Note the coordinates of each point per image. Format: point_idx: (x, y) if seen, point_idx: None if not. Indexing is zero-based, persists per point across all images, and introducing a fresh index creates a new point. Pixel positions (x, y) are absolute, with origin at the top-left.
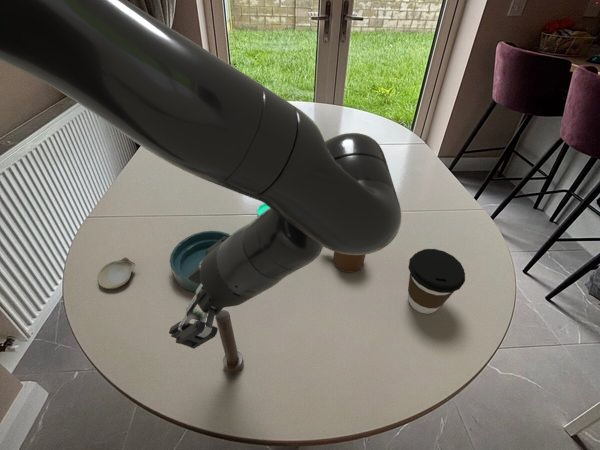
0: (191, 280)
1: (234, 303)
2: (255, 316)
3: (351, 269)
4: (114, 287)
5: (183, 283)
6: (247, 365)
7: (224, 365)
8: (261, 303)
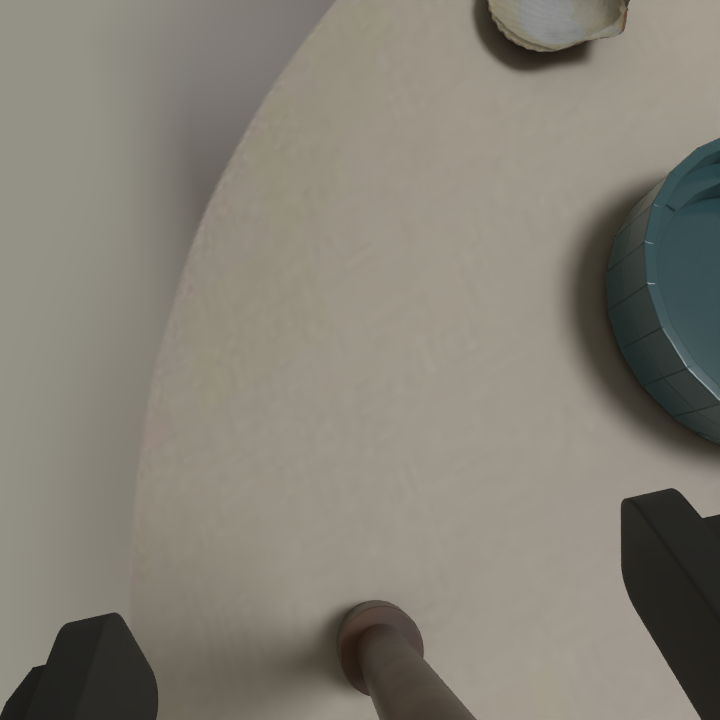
0: (624, 523)
1: None
2: (607, 630)
3: None
4: (501, 27)
5: (623, 259)
6: None
7: (346, 627)
8: None
